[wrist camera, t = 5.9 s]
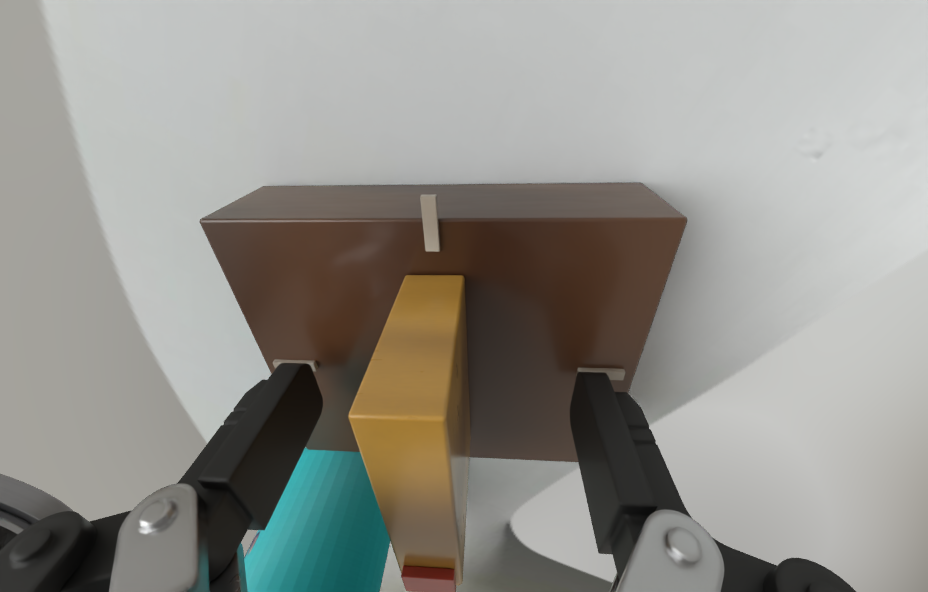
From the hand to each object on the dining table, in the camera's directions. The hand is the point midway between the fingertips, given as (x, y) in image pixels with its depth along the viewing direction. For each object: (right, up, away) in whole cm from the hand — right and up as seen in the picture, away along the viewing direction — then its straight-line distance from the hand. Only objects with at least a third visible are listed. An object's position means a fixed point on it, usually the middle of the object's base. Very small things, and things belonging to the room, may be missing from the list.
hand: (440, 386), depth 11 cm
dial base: (0, +2, +3) cm, 4 cm away
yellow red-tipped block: (0, 0, +1) cm, 1 cm away
